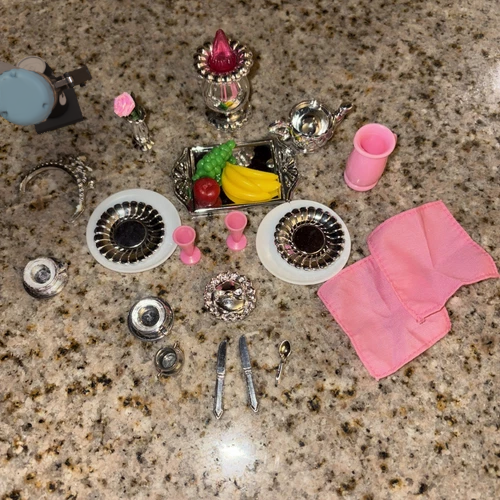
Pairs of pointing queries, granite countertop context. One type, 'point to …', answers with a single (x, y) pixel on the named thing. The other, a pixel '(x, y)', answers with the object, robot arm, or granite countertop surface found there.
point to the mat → (63, 115)
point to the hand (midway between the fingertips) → (42, 90)
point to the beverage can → (41, 66)
